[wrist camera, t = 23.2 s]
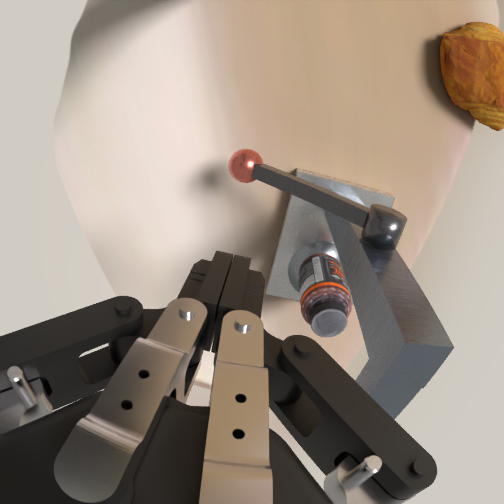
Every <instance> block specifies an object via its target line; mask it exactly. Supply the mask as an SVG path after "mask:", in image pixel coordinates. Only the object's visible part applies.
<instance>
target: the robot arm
mask: <svg viewBox="0 0 504 504" xmlns="http://www.w3.org/2000/svg"><path fill="white" fill-rule="evenodd" d="M232 260H233V261H232ZM250 261H251V258H248V257H243V256H238V255H234V258H233V254H229V253H225V252H220V251H216V253H215V255H214V258H213V260H212V261H207V260H203V259H202V260H200V261H199V262H197V263H195V264H194V266H193V267H192V269H191V271H190V273H189V275H188V278H187V279H186V281H185V283H184V285H183V287H182V289H181V291H180V293H179V295H178V297H177V299H175V300H173V301H172V302H170V303H169V304H168V306H167V307H166V308H162V309H143V306H142V304H141V303H140V302H139V301H138V300H137V299H135V298H133V297H129V296H117V297H114V298H111V299H108V300H105V301H102V302H99V303H96V304H93V305H90V306H88V307H85V308H82V309H79V310H76V311H73V312H70V313H67V314H65V315H61V316H58V317H56V318H53V319H50V320H47V321H44V322H41V323H38V324H35V325H32V326H29V327H26V328H24V329H21V330H18V331H15V332H12V333H9V334H6V335H3V336H0V504H401V503H403V502H405V501H407V500H409V499H411V498H412V497H414V496H415V495H416V494H417V493H419V492H420V491H422V490H424V489H425V488H427V487H429V486H430V485H431V484H432V483H433V482H434V480H435V478H436V475H437V466H436V463H435V461H434V459H433V458H432V456H431V455H430V454H429V453H428V452H427V451H426V450H425V449H424V448H422V446H420V445H419V444H418V443H417V442H416V441H415V440H414V439H413V438H412V437H411V436H410V435H409V434H408V433H407V432H406V431H405V430H404V429H403V428H402V427H401V426H400V425H399V424H398V423H397V422H396V421H395V420H394V419H393V418H392V417H391V416H390V415H389V414H388V413H387V412H386V411H385V410H384V409H383V408H382V407H381V406H380V405H379V404H378V403H377V402H376V401H375V400H374V399H373V398H372V397H371V396H370V395H369V394H368V393H367V392H366V391H365V390H364V389H363V388H362V387H361V386H360V385H359V384H358V383H357V382H356V381H355V380H354V379H353V378H351V376H349V375H348V373H346V371H345V370H344V369H343V368H342V367H341V366H340V365H339V364H338V363H337V362H336V361H335V360H334V359H333V358H332V357H331V356H330V355H329V354H328V353H327V352H326V351H325V350H324V349H323V348H322V347H321V346H320V345H319V344H318V343H317V342H316V341H314V340H313V339H311V338H309V337H306V336H303V335H292V336H289V337H287V338H286V339H285V340H284V341H283V340H280V339H278V338H276V337H274V336H272V335H270V334H269V333H268V332H267V331H266V330H265V329H264V328H263V322H262V321H261V319H260V318H261V310H262V302H263V293H264V285H265V279H264V277H263V275H262V273H261V272H257V271H253V270H249V266H250ZM213 338H214V339H213ZM212 342H213V345H212ZM106 343H108V344H109V346H107V347H105V348H102V349H100V350H97V351H95V352H92V353H90V354H87V355H85V356H82V357H79V356H80V355H81V354H82V353H84V352H86V351H89V350H91V349H94V348H96V347H98V346H101V345H104V344H106ZM211 345H212V351H211V352H213V353H215V356H214V373H213V380H212V387H211V394H210V401H209V407H206V406H204V407H203V406H202V407H201V406H189V405H186V404H185V403H186V400H187V398H188V396H189V393H190V391H191V388H192V386H193V383H194V381H195V378H196V376H197V373H198V371H199V368H200V365H201V358H202V354H203V350H205V351H210V349H211ZM104 388H105V389H104ZM102 389H104V390H103V391H100V390H102ZM98 391H99V392H98ZM95 392H96V393H95ZM88 395H89V396H88ZM81 398H82V399H81ZM79 399H80V400H79ZM77 400H78V401H77ZM74 401H76V402H74ZM72 402H74V403H72ZM70 403H72V404H70ZM67 404H69V405H67ZM65 405H67V406H65ZM62 406H65V407H63V408H61V409H59V410H56V411H54V412H52V411H53V410H55V409H58V408H60V407H62ZM269 407H270V409H271V410H272V411H273V412H274V414H275V415H276V416H277V417H278V419H279V420H280V421H281V422H282V424H283V425H284V426H285V428H286V429H287V430H288V431H289V432H290V434H291V435H292V436H293V437H294V439H295V440H296V441H297V442H298V444H299V445H300V446H301V447H302V448H303V450H304V451H305V452H306V453H307V454H308V455H309V457H310V458H311V459H312V460H313V461H314V463H315V464H316V465H317V466H318V467H319V468H320V470H321V471H322V472H323V473H324V474H325V475H326V478H325V480H324V490H323V489H322V488H321V487H320V486H319V484H318V483H317V482H316V480H315V479H314V478H313V477H312V475H311V474H310V473H309V472H308V470H307V469H306V468H305V467H304V465H303V464H302V462H301V461H300V460H299V459H298V457H297V456H296V455H295V454H294V452H293V451H292V449H291V448H290V447H289V445H288V444H287V443H286V442H285V441H284V440H283V439H282V438H281V437H280V436H279V435H278V434H277V433H276V432H274V431H273V430H271V429H270V428H269Z"/></svg>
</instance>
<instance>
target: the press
mask: <svg viewBox="0 0 504 504" xmlns="http://www.w3.org/2000/svg"><path fill="white" fill-rule="evenodd" d="M295 176H296V177H299V178H301V179H304V180H306V181H309V182H311V183H313V184H316V185H318V186H321V187H323V188H325V189H328V190H330V191H332V192H335V193H337V194H339V195H341V196H344V197H346V198H348V199H350V200H353V201H355V202H357V203H359V204H362V205H364V206H366V207H368V208H370V207H371V204H380V205H384V206H387V207H389V208H392V205H393V202H394V199H395V198H394V197H393V196H392V195H391V194H389V193H386V192H383V191H380V190H376V189H373V188H369V187H366V186H363V185H359V184H356V183H352V182H349V181H345V180H341V179H338V178H334V177H330V176H326V175H322V174H318V173H315V172H311V171H306V170H302V169H298V168H297V170H296V174H295ZM362 230H363V228H362V227H360V226H358V225H356V224H354V223H352V222H350V221H347V220H345V219H343V218H341V217H339V216H337V215H335V214H333V213H331V212H329V211H327V210H324V209H322V208H320V207H318V206H316V205H314V204H311V203H309V202H307V201H305V200H303V199H300V198H298V197H296V196H294V195H291V194H290V198H289V202H288V206H287V210H286V213H285V217H284V221H283V225H282V229H281V233H280V237H279V241H278V245H277V248H276V252H275V256H274V260H273V264H272V267H271V271H270V275H269V279H268V282H267V286H266V294H268V295H273V296H278V297H283V298H288V299H293V300H298V301H300V288H299V269H300V266H301V264H302V263H303V261H304V260H305V259H307V258H308V257H309V256H312V255H314V254H318V253H325V254H329V255H331V256H333V257H334V258H336V259H337V260H338V262H339V263H340V265H341V267H342V270H343V274H344V277H345V280H346V284H347V287H348V290H349V293H350V297H351V302H352V305H353V303H354V306H355V309H356V313H357V316H358V320H359V323H360V327H361V330H362V334H363V338H364V341H365V345H366V349H367V352H368V356H369V360H368V362H367V363H366V365H365V367H364V368H363V370H362V371H361V373H360V374H359V376H358V377H357V379H356V380H355V381H356V382H357V383H358V384H359V385H360V386H361V387H362V388H363V389H364V390H365V391H366V392H367V393H368V394H369V395H370V396H371V397H372V398H373V399H374V400H375V401H376V402H377V403H378V404H379V405H380V406H381V407H382V408H383V409H384V410H385V411H386V412H387V413H388V414H389V415H390V416H391V417H392V418H393V419H395V418H396V417H397V416H398V415H399V414H400V413H401V411H402V410H403V409H404V408H405V407H406V406H407V405H408V404H409V402H410V401H411V400H412V399H413V398H414V397H415V395H416V394H417V393H418V392H419V391H420V389H421V388H424V387H425V386H426V384H427V383H428V382H429V381H430V379H431V378H432V377H433V375H434V374H435V373H436V372H437V370H438V369H439V367H440V366H441V365H442V364H443V362H444V361H445V360H446V358H447V357H448V355H449V354H450V353H451V351H452V350H453V348H454V346H453V344H452V342H451V341H450V339H449V337H448V335H447V333H446V331H445V329H444V328H443V326H442V324H441V322H440V320H439V319H438V317H437V315H436V313H435V312H434V310H433V308H432V306H431V305H430V303H429V301H428V300H427V298H426V296H425V295H424V293H423V291H422V290H421V288H420V286H419V285H418V283H417V281H416V280H415V278H414V277H413V275H412V273H411V272H410V270H409V269H408V267H407V266H406V264H405V263H404V261H403V259H402V258H401V256H400V255H399V253H398V252H397V250H396V249H395V250H384V249H381V248H378V247H376V246H373V245H372V244H370V243H368V242H367V241H365V240H364V239H363V238H362V236H361V233H362Z"/></svg>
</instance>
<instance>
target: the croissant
mask: <svg viewBox="0 0 504 504" xmlns="http://www.w3.org/2000/svg"><path fill="white" fill-rule="evenodd" d="M441 41H442V42H441V46H440V62H441V72H442V76H443V80H444V85H445V88H446V90H447V92H448V94H449V96H450V98H451V100H452V102H453V103H454V105H455V106H459V107H460V108H461V109H464V110H469V112H470V114H471V115H472V116H473V117H474V118H475V119H476V120H478V121H479V123H482V124H484V125H486V126H489V127H490V128H491V129H494V130H496V131H499V130H501V129H503V128H504V35H503V33H502V32H501V31H500V30H499V29H498V28H497V27H495V26H494V25H492V24H488V23H484V22H471V23H470V22H469V23H467V24H466V25H465V26H462V27H461V28H460V30H455V31H452V32H450V33H446V32H445V33H444V34H443V39H442V40H441Z"/></svg>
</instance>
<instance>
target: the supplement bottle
mask: <svg viewBox="0 0 504 504" xmlns="http://www.w3.org/2000/svg"><path fill="white" fill-rule="evenodd" d="M299 288H300V304H301V312H302V316H303V318H304V319H305V321H306V322H307V323H308V324H310V325H311V328H312V330H313V332H314V333H315V334H317V335H318V336H321V337H333V336H336V335H338V334H340V333H341V332H342V331H344V329H345V328H346V326H347V318H348V316H349V315H350V312H351V309H352V302H351V297H350V293H349V290H348V287H347V284H346V280H345V277H344V274H343V270H342V267H341V265H340V263H339V262H338V260H337V259H336V258H334V257H333V256H331V255H329V254H325V253H318V254H314V255H312V256H309V257H308V258H307V259H305V260H304V261H303V263H302V264H301V266H300V269H299Z"/></svg>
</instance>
